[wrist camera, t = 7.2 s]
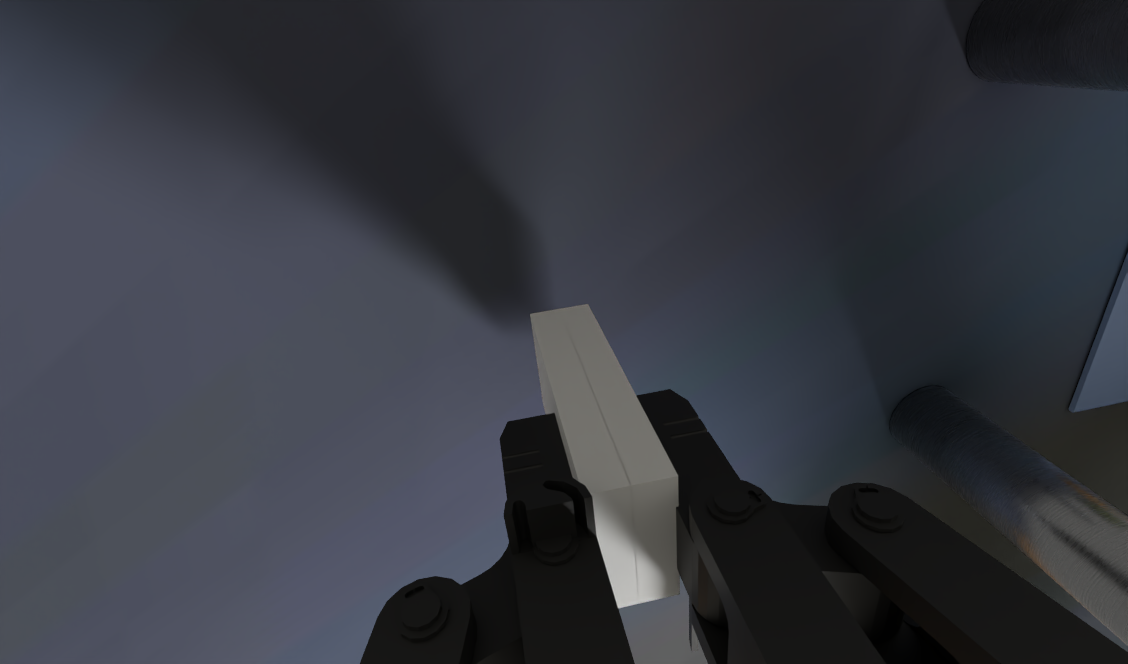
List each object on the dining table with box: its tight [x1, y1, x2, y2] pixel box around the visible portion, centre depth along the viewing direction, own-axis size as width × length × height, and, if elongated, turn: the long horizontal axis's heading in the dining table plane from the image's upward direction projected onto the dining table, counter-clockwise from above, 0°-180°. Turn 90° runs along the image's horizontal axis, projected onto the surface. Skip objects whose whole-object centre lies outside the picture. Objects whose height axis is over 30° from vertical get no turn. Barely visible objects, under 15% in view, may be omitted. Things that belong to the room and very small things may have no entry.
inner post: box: [890, 386, 1128, 646], centre depth 17 cm, size 2×2×9 cm
